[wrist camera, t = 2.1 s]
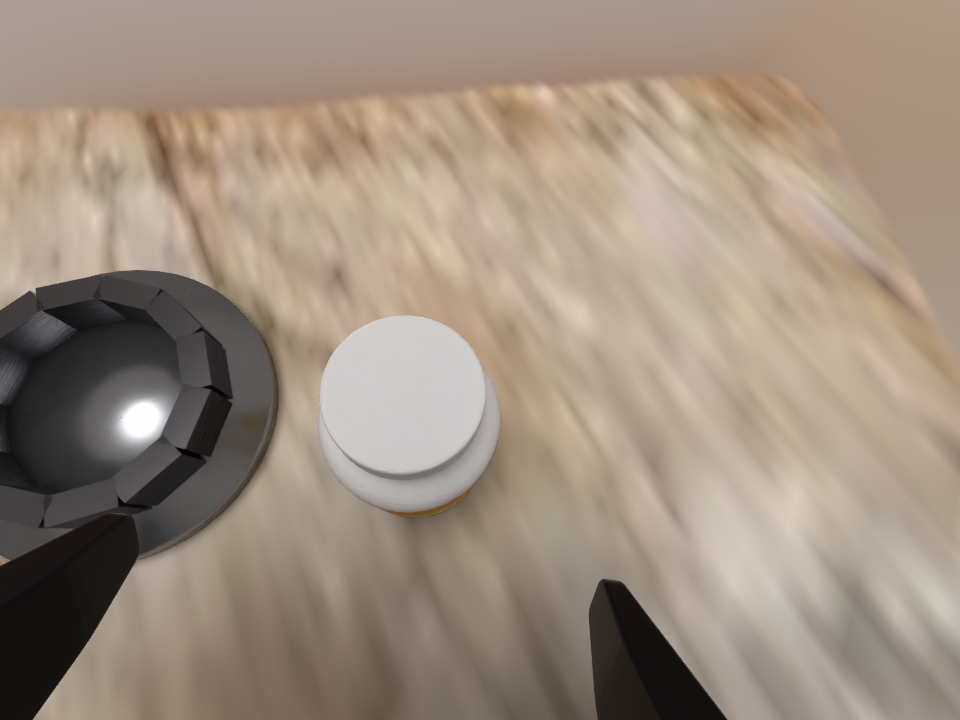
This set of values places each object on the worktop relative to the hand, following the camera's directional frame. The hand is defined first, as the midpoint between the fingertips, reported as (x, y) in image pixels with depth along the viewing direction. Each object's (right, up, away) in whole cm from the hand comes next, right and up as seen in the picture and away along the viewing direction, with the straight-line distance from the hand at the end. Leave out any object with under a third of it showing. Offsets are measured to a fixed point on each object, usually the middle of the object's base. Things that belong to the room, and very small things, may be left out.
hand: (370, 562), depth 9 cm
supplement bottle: (-1, 0, +11) cm, 11 cm away
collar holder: (-13, +2, +11) cm, 17 cm away
